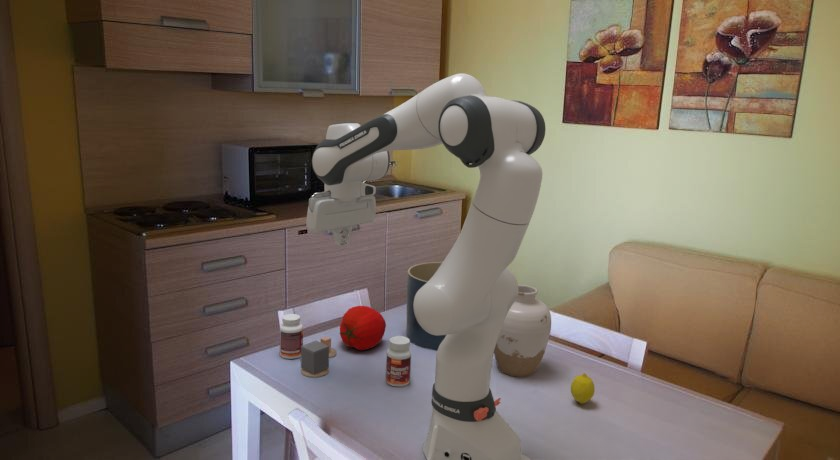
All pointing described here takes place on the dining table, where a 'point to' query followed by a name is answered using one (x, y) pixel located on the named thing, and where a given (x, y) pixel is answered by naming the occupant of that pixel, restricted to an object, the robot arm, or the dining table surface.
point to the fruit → (582, 388)
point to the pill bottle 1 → (291, 336)
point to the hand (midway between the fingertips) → (341, 244)
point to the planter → (415, 281)
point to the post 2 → (328, 342)
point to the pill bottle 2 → (398, 361)
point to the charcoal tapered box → (314, 357)
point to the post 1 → (318, 374)
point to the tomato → (362, 327)
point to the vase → (523, 334)
